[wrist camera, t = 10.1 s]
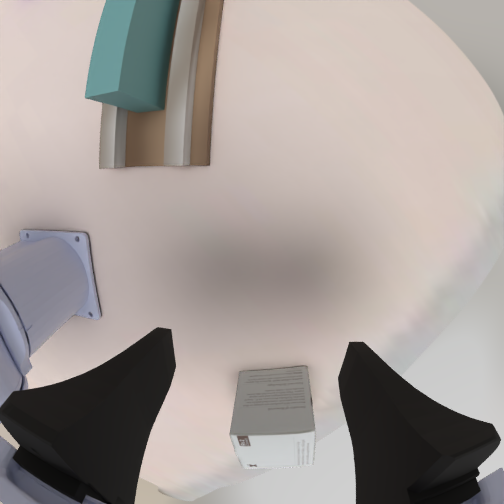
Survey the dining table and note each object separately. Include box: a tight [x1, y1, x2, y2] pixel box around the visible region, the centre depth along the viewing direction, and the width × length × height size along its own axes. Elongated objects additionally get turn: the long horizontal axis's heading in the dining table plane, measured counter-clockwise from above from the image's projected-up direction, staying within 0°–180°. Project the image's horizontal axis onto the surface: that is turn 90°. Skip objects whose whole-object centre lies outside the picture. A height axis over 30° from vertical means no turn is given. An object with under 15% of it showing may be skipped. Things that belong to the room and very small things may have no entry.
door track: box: [99, 0, 224, 169], centre depth 13 cm, size 8×18×2 cm, turn 177°
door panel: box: [85, 0, 180, 113], centre depth 11 cm, size 2×10×6 cm, turn 177°
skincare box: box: [230, 366, 316, 469], centre depth 20 cm, size 6×6×7 cm
